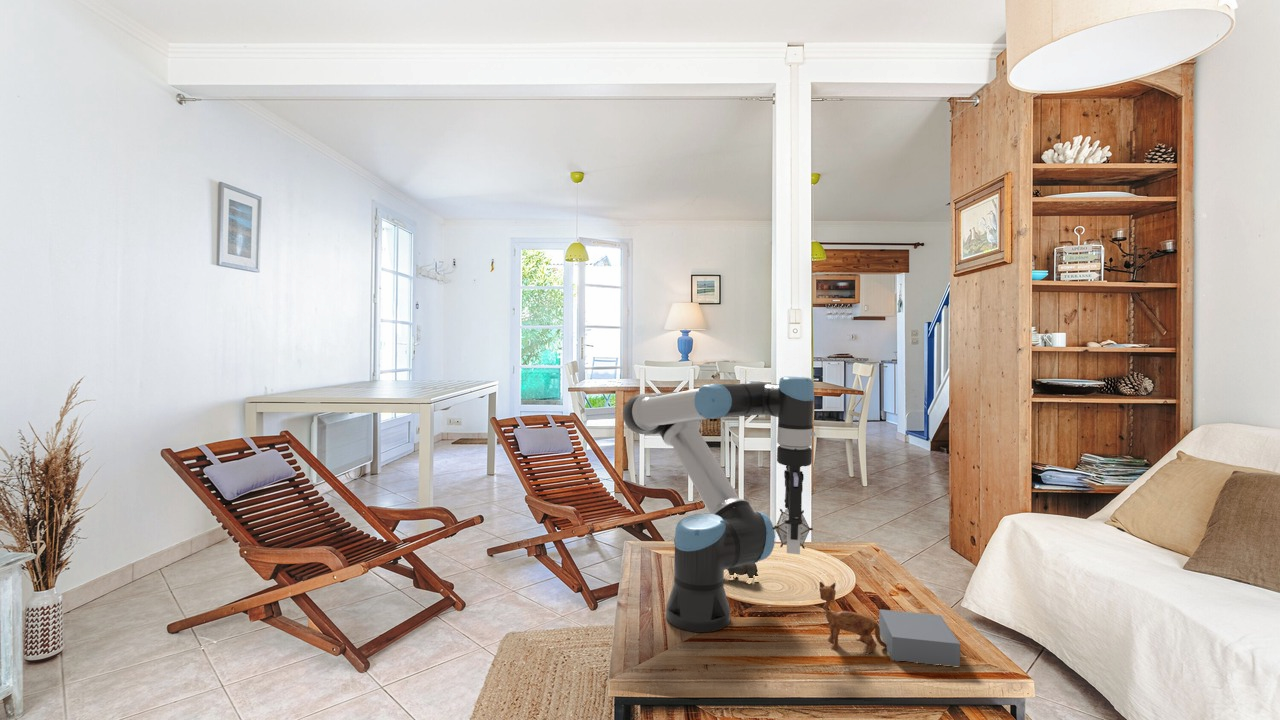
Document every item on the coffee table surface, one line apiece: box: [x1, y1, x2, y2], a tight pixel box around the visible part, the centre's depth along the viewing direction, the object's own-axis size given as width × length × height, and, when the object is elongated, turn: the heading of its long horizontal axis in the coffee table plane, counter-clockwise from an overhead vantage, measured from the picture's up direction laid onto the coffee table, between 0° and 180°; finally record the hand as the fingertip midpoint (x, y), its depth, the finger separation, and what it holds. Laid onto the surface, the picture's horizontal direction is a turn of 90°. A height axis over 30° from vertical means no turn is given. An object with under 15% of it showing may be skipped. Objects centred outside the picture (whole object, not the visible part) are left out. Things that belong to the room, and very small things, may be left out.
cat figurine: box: [819, 581, 887, 654], centre depth 129 cm, size 18×7×14 cm, turn 85°
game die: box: [772, 508, 814, 550], centre depth 134 cm, size 9×8×10 cm
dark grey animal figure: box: [726, 563, 759, 579], centre depth 165 cm, size 4×14×6 cm, turn 68°
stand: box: [878, 608, 961, 667], centre depth 129 cm, size 13×13×5 cm
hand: (791, 545), depth 134 cm, fingers closed on game die, 10 cm apart
